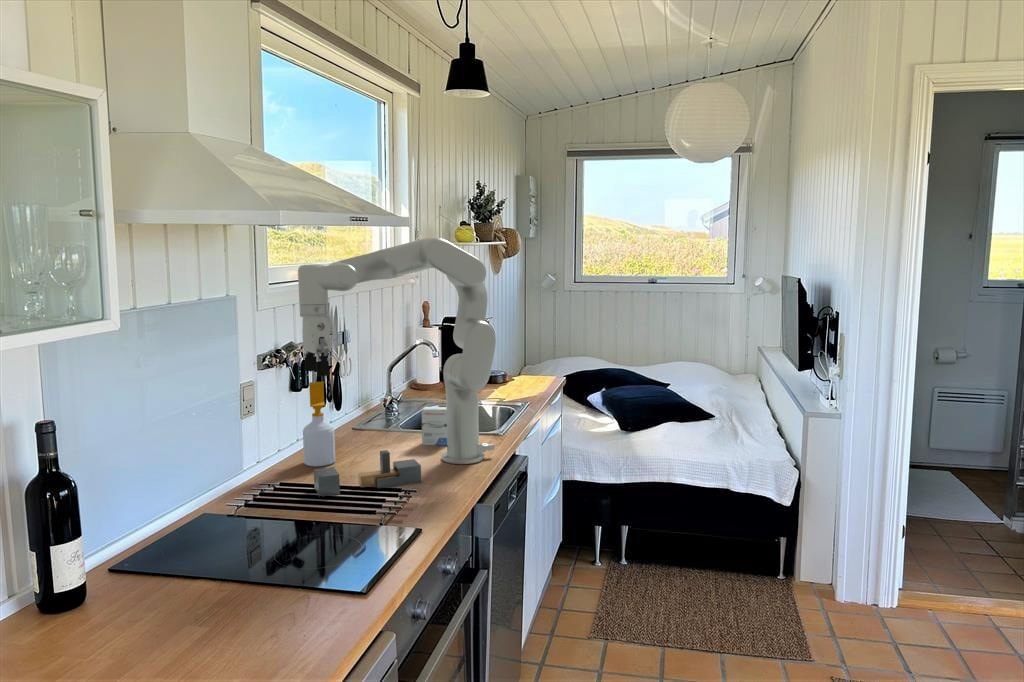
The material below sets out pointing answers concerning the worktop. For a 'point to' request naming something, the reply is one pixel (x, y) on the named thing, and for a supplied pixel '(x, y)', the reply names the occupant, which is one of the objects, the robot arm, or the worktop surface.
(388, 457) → the sliding bolt with handle
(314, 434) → the soap bottle
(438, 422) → the ink box
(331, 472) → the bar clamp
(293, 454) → the worktop surface
